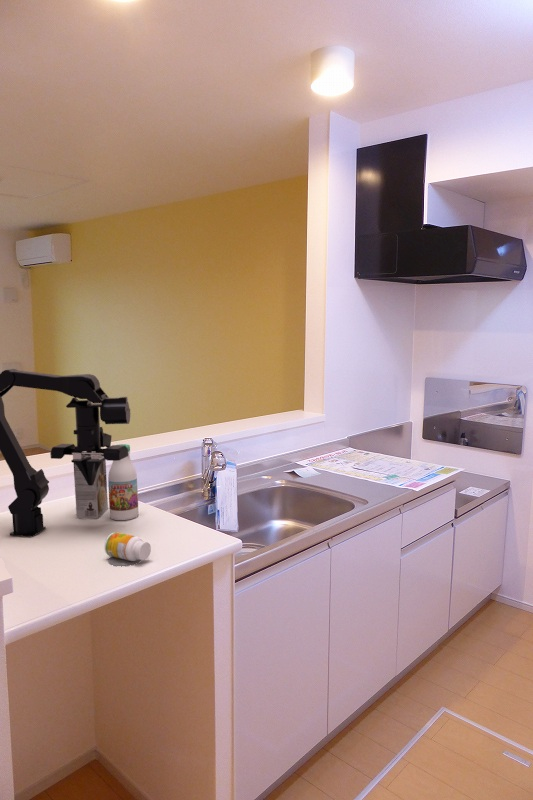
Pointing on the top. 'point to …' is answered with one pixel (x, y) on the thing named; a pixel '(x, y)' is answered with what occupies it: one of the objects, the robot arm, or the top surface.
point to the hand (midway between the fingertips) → (91, 485)
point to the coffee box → (91, 493)
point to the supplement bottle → (127, 547)
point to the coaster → (121, 562)
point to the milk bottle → (123, 489)
